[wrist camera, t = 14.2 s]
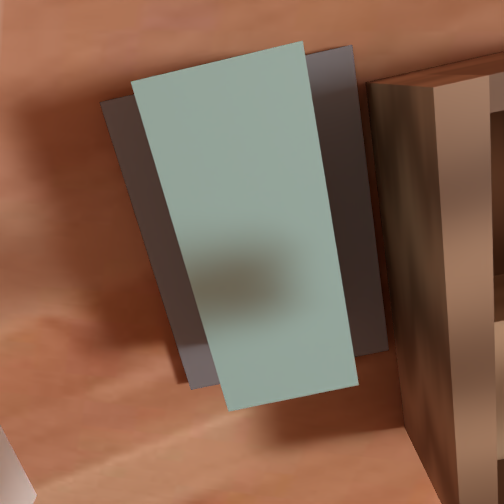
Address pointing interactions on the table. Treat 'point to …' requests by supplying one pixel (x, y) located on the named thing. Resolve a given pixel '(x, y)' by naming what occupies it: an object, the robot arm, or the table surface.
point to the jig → (446, 265)
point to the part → (253, 221)
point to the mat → (340, 200)
